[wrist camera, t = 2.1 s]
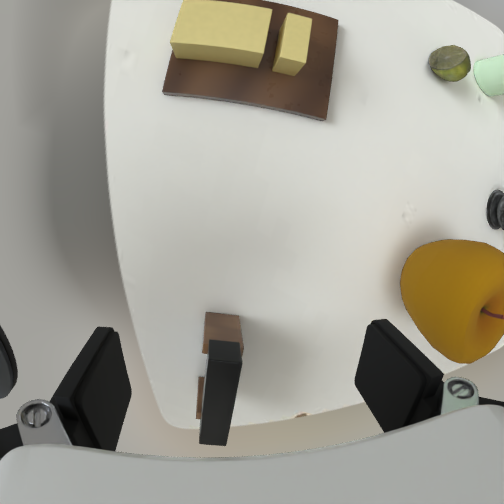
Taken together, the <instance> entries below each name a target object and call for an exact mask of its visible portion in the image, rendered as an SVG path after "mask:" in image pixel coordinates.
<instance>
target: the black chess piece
mask: <svg viewBox="0 0 504 504" xmlns="http://www.w3.org/2000/svg"><path fill="white" fill-rule="evenodd" d="M487 219H488V223H489V225H490V226H491V227H492V228H493V229H499V228H500V227H501V228H502V229H503V230H504V193H503V192H502V191H500V190H495V191H493V193H492V194H491V196H490V197H489V200H488V204H487Z"/></svg>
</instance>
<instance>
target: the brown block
mask: <svg viewBox="0 0 504 504" xmlns="http://www.w3.org/2000/svg"><path fill="white" fill-rule="evenodd" d="M209 339H212V340H221V341H231V342H239V343H240V349H241V357H242V354H243V349H244V346H243V340H242V333H241V326H240V319H239V316H237V315H228V314H219V313H210V312H206V313H205V322H204V335H203V349H202V353H204V354H207V352H208V343H209ZM204 378H205V377H199V379H198V393H197V410H196V419H200V417H201V407H202V397H203V387H204Z"/></svg>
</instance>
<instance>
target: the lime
mask: <svg viewBox="0 0 504 504" xmlns="http://www.w3.org/2000/svg"><path fill="white" fill-rule="evenodd" d="M429 64H430V67H431V69H432V70H433V72H434V73H436V74H437V75H438V76H439V77H441V78H442V79H444V80H447V81H452V82H455V81H459V80H461V79H462V78H464V77H465V76H466V75H467V73H468V72H469V71H470V69H471V63H470V58H469V55H468V53H467V52H466V51H465V50H464V49H463V48H461V47H458V46H455V45H451V46H444V47H441V48H439V49H437V50H435V51H434V52H433V53H432V54H431V56H430V58H429Z"/></svg>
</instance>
